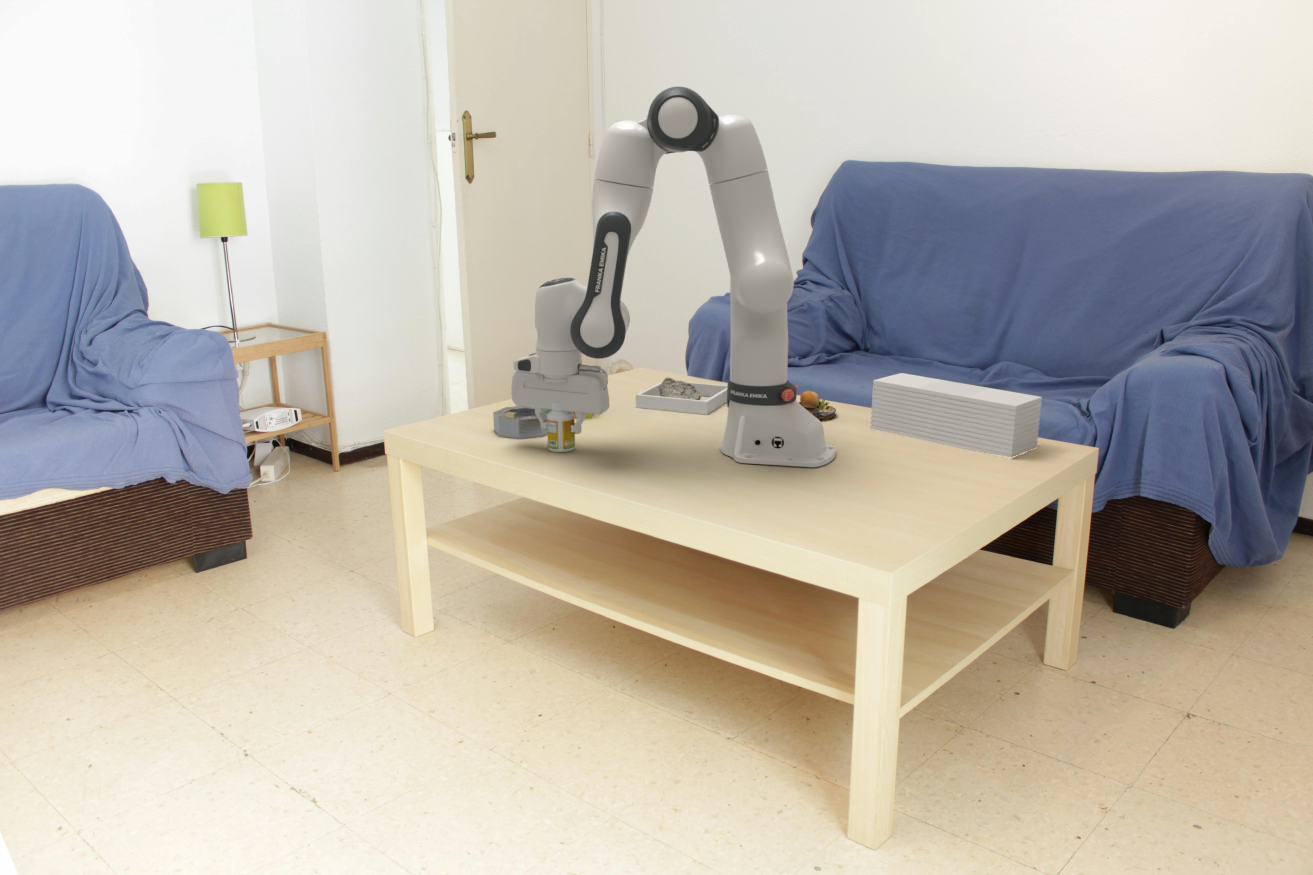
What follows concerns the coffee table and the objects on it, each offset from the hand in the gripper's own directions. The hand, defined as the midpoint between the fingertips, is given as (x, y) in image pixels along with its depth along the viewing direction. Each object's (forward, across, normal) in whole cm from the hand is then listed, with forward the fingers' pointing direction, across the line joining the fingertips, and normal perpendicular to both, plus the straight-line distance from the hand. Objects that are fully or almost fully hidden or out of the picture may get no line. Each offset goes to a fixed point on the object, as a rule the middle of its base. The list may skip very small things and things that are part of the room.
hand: (561, 431), depth 199 cm
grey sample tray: (+4, -8, -46) cm, 47 cm away
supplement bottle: (+4, 0, 0) cm, 4 cm away
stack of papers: (+4, -70, -39) cm, 80 cm away
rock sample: (+4, -8, -44) cm, 45 cm away
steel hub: (+4, +14, -9) cm, 17 cm away
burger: (+4, -38, -46) cm, 60 cm away
